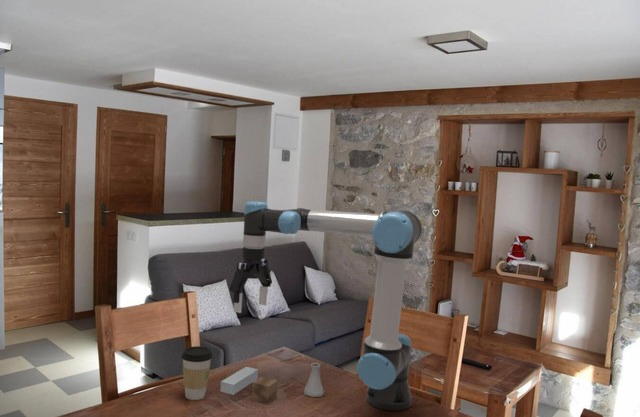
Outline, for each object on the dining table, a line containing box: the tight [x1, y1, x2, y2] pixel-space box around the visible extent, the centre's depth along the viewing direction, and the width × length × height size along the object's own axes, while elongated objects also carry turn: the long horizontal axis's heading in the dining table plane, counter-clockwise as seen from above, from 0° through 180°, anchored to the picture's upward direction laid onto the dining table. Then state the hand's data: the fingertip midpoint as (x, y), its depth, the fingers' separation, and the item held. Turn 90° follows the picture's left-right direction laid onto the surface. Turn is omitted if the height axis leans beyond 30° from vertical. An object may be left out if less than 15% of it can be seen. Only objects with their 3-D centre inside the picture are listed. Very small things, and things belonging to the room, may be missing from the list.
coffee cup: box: [181, 345, 213, 401], centre depth 174 cm, size 10×10×15 cm
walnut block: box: [251, 376, 278, 406], centre depth 176 cm, size 6×6×6 cm
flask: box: [303, 362, 325, 398], centre depth 183 cm, size 7×7×10 cm
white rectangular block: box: [219, 366, 259, 396], centre depth 185 cm, size 5×16×4 cm, turn 156°
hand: (250, 308), depth 185 cm, fingers open, 13 cm apart
